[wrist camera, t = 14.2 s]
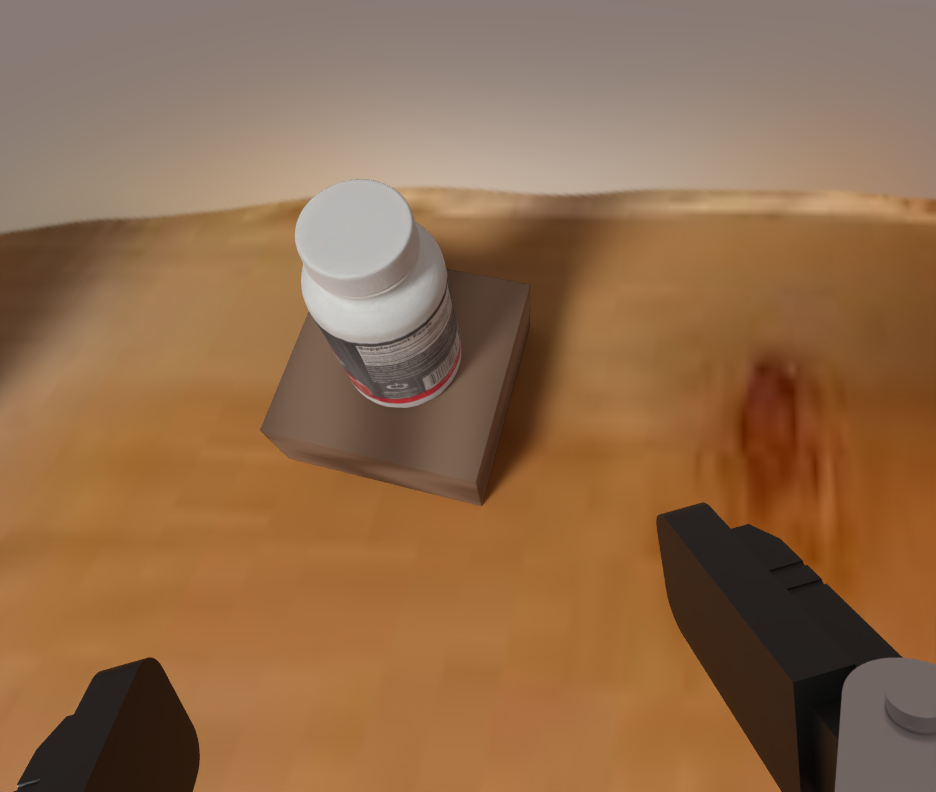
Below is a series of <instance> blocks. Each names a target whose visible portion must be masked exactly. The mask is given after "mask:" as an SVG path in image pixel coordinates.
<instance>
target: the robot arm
mask: <svg viewBox="0 0 936 792" xmlns="http://www.w3.org/2000/svg"><path fill="white" fill-rule="evenodd" d="M656 523H657V532H658V539H659V545H660V552H661V558H662V565H663V571H664V578H665V584H666V591H667V596H668V600H669V604H670V607H671V610H672V613H673V615H674V618H675V620H676V623H677V625H678V627H679V629H680V631H681V633H682V634H683V636H684V638H685V639H686V641H687V642H688V644H689V645H690V647H691V649H692V650H693V652H694V653H695V655H696V657H697V658H698V660H699V661H700V663H701V664H702V666H703V668H704V669H705V671H706V672H707V674H708V676H709V677H710V679H711V680H712V682H713V684H714V685H715V687H716V688H717V690H718V691H719V693H720V695H721V696H722V698H723V699H724V701H725V703H726V704H727V706H728V707H729V709H730V710H731V712H732V714H733V715H734V717H735V718H736V720H737V722H738V723H739V725H740V726H741V728H742V729H743V731H744V733H745V734H746V736H747V737H748V739H749V741H750V742H751V744H752V745H753V747H754V749H755V750H756V752H757V753H758V755H759V756H760V758H761V760H762V761H763V763H764V764H765V766H766V768H767V769H768V771H769V772H770V774H771V775H772V777H773V779H774V780H775V782H776V783H777V785H778V787H779V788H780V790H781V791H782V792H936V665H934V664H931V663H928V662H924V661H920V660H916V659H908V658H903V657H902V656H900V655H899V654H898V653H897V652H896V651H895V650H894V649H893V648H892V647H891V646H890V645H889V644H888V643H887V642H886V641H885V640H884V639H883V638H882V637H881V636H880V635H879V634H878V633H877V632H876V631H875V630H874V629H873V628H872V627H871V626H870V625H868V624H867V623H866V622H865V621H864V620H863V619H862V618H861V617H860V616H859V615H858V614H857V613H856V612H855V611H854V610H853V609H852V608H851V607H850V606H849V605H848V604H847V603H846V602H845V601H844V600H843V599H842V598H841V597H840V596H839V595H838V594H837V593H836V592H835V591H833V590H832V589H831V588H830V587H829V586H828V585H827V584H823V582H822V579H821V578H820V577H819V576H818V575H817V574H816V573H815V572H814V571H813V570H812V569H811V568H810V567H809V566H808V565H804V563H803V560H802V559H801V558H800V557H798V556H797V555H796V554H795V553H794V552H793V551H792V550H791V549H790V548H789V547H788V546H787V545H786V544H785V543H784V542H783V541H782V540H781V539H780V538H777V537H775V536H773V535H771V534H769V533H767V532H764V531H762V530H760V529H758V528H756V527H754V526H752V525H749V524H747V525H743V526H740V527H736V528H733V529H730V528H729V527H728V525H727V524H726V523H725V522H724V521H723V520H722V519H721V518H720V517H719V516H718V515H717V514H716V512H715V511H714V510H713V509H712V508H711V507H710V506H709V505H708V504H706V503H699V504H696V505H692V506H689V507H685V508H681V509H678V510H674V511H671V512H667V513H664V514H660V515H658V516H657V521H656ZM199 760H200V752H199V743H198V738H197V734H196V731H195V728H194V726H193V724H192V722H191V720H190V718H189V717H188V715H187V713H186V711H185V709H184V707H183V705H182V703H181V701H180V700H179V698H178V696H177V694H176V692H175V690H174V688H173V686H172V685H171V683H170V681H169V679H168V677H167V675H166V673H165V671H164V669H163V668H162V666H161V664H160V663H159V662H158V661H157V660H156V659H154V658H145V659H142V660H138V661H135V662H131V663H128V664H124V665H121V666H117V667H114V668H110V669H106V670H103V671H100V672H98V673H97V674H96V675H95V676H94V677H93V679H92V681H91V683H90V684H89V686H88V688H87V690H86V692H85V694H84V696H83V698H82V700H81V702H80V704H79V706H78V707H77V709H76V711H75V713H74V715H70V716H67V717H66V718H65V719H64V720H63V721H62V722H61V723H60V724H59V725H58V726H57V728H56V729H55V730H54V731H53V732H52V733H51V734H50V735H49V736H48V737H47V739H46V740H45V741H44V742H43V743H42V744H41V745H40V746H39V747H38V749H37V750H36V751H35V753H34V755H33V757H32V759H31V760H30V762H29V764H28V766H27V768H26V769H25V771H24V773H23V775H22V777H21V778H20V780H19V782H18V784H17V785H18V790H17V791H14V792H193V789H194V785H195V781H196V778H197V774H198V770H199Z"/></svg>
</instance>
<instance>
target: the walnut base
mask: <svg viewBox="0 0 936 792" xmlns="http://www.w3.org/2000/svg"><path fill="white" fill-rule="evenodd" d="M446 270H447V275H448V280H449V284H450V288H451V294H452V300H453V306H454V311H455V315H456V321H457V325H458V329H459V334H460V340H461V360H460V364H459V368H458V370H457V373H456V375H455V377H454V378H453V380H452V381H451V383H450V384H449V385H448V386H447V387H446V389H445V390H444V391H443V392H442V393H441V394H439V395H438V396H436V397H435V398H433V399H431V400H429V401H427V402H425V403H423V404H420V405H418V406H414V407H408V408H401V407H399V408H396V407H386V406H383V405H380V404H377V403H375V402H373V401H371V400H369V399H368V398H366V397H365V396H364V395H362V394H361V393H360V392H359V391H358V389H357V388H356V387H355V386H354V384H353V383H352V382H351V380H350V378H349V377H348V375H347V374H346V372H345V370H344V368H343V367H342V365H341V364H340V362H339V360H338V359H337V357H336V355H335V354H334V352H333V350H332V348H331V346H330V345H329V343H328V341H327V339H326V338H325V336H324V335H323V333H322V331H321V330H320V328H319V327H318V325H317V324H316V323H315V321H314V319H313V317H312V316H311V314H310V312H308V315H307V317H306V320H305V322H304V325H303V327H302V329H301V332H300V334H299V337H298V339H297V342H296V344H295V347H294V349H293V351H292V354H291V356H290V359H289V361H288V364H287V366H286V368H285V371H284V373H283V376H282V378H281V381H280V383H279V386H278V388H277V390H276V393H275V395H274V398H273V400H272V403H271V405H270V407H269V410H268V412H267V415H266V417H265V420H264V422H263V425H262V427H261V429H260V431H261V432H262V433H263V434H264V435H265V436H266V437H267V438H268V439H270V440H271V441H272V442H273V443H274V444H275V445H276V446H277V447H278V448H279V449H280V450H281V451H282V452H283V453H284V454H285V455H286V456H287V457H288V458H290V459H294V460H298V461H302V462H306V463H310V464H314V465H318V466H322V467H326V468H330V469H334V470H338V471H342V472H346V473H350V474H355V475H359V476H363V477H367V478H371V479H375V480H379V481H383V482H387V483H391V484H395V485H399V486H403V487H407V488H411V489H415V490H419V491H423V492H427V493H431V494H435V495H439V496H443V497H447V498H451V499H455V500H459V501H463V502H467V503H471V504H475V505H479V506H482V502H483V499H484V495H485V491H486V487H487V484H488V480H489V476H490V473H491V469H492V465H493V461H494V458H495V454H496V450H497V446H498V443H499V439H500V435H501V431H502V428H503V424H504V420H505V416H506V413H507V409H508V405H509V402H510V398H511V394H512V390H513V387H514V383H515V379H516V375H517V372H518V368H519V364H520V360H521V357H522V353H523V349H524V345H525V342H526V338H527V334H528V331H529V327H530V284H524V283H519V282H513V281H508V280H503V279H497V278H492V277H487V276H481V275H476V274H471V273H465V272H460V271H455V270H449V269H446Z"/></svg>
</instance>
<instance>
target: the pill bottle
mask: <svg viewBox="0 0 936 792" xmlns="http://www.w3.org/2000/svg"><path fill="white" fill-rule="evenodd" d="M295 242H296V247H297V250H298V253H299V255H300V257H301V259H302V262H303V268H302V275H301V288H302V293H303V297H304V300H305V303H306V305H307V308H308V310H309V312H310V314H311V316H312V317H313V319H314V321H315V323H316V324H317V325H318V327H319V328H320V330H321V331H322V333H323V335H324V336H325V338H326V339H327V341H328V343H329V345H330V346H331V348H332V350H333V352H334V354H335V355H336V357H337V359H338V360H339V362H340V364H341V365H342V367H343V368H344V370H345V372H346V374H347V375H348V377H349V378H350V380H351V382H352V383H353V384H354V386H355V387H356V388H357V389H358V391H359V392H360V393H361V394H362V395H364V396H365V397H366V398H368V399H369V400H371V401H373V402H375V403H377V404H380V405H383V406H386V407H396V408H399V407H401V408H408V407H414V406H418V405H420V404H423V403H425V402H427V401H429V400H431V399H433V398H435V397H436V396H438V395H439V394H441V393H442V392H443V391H444V390H445V389H446V387H447V386H448V385H449V384H450V383H451V381H452V380H453V378H454V377H455V375H456V373H457V370H458V368H459V364H460V360H461V340H460V334H459V329H458V325H457V321H456V315H455V311H454V306H453V300H452V294H451V288H450V284H449V280H448V275H447V270H446V265H445V261H444V257H443V254H442V251H441V249H440V247H439V245H438V244H437V242H436V240H435V239H434V238H433V236H432V235H431V234H430V233H429V232H428V231H427V230H426V229H425V228H424V227H422V226H421V225H420V224H418V223H417V222H415V221H414V217H413V214H412V211H411V209H410V207H409V205H408V203H407V201H406V200H405V198H404V197H403V196H402V195H401V194H400V193H399V192H398V191H396V190H395V189H394V188H392V187H390V186H388V185H386V184H384V183H381V182H378V181H374V180H367V179H355V180H349V181H344V182H340V183H337V184H334V185H332V186H330V187H328V188H326V189H325V190H323V191H321V192H319V193H318V194H317V195H316V196H315V197H313V198H312V199H311V200H310V201H309V202H308V203H307V204H306V206H305V207H304V208H303V210H302V212H301V214H300V216H299V218H298V221H297V224H296V229H295Z"/></svg>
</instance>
